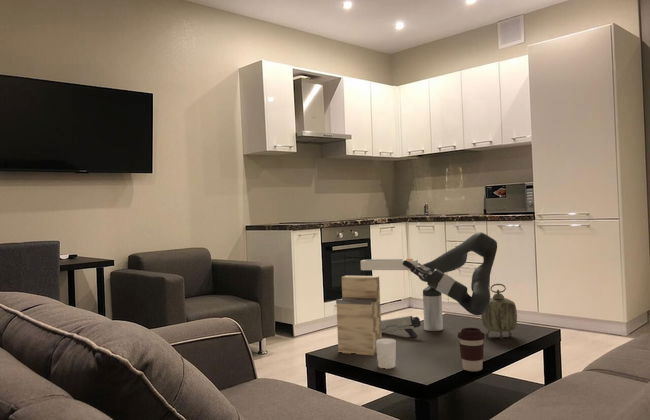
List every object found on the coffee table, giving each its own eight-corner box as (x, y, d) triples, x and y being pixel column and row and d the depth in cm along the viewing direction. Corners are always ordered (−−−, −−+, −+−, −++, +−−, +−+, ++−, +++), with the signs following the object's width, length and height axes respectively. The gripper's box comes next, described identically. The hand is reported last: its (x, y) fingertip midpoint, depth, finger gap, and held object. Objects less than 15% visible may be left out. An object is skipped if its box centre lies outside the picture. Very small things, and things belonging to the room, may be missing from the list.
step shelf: (348, 345, 242) (345, 275, 242) (381, 348, 236) (379, 276, 235) (338, 352, 231) (335, 279, 231) (372, 355, 224) (370, 280, 224)
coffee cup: (456, 365, 206) (455, 326, 206) (482, 364, 206) (480, 326, 206) (462, 373, 196) (460, 332, 196) (489, 372, 196) (487, 332, 196)
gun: (422, 336, 249) (417, 315, 250) (377, 342, 264) (373, 322, 265) (424, 335, 251) (419, 314, 252) (380, 341, 266) (375, 321, 267)
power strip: (363, 269, 232) (363, 258, 232) (418, 269, 222) (417, 258, 222) (360, 270, 228) (360, 259, 228) (415, 270, 218) (415, 259, 218)
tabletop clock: (512, 334, 250) (510, 282, 250) (519, 339, 241) (517, 284, 241) (481, 335, 251) (479, 283, 250) (487, 340, 241) (485, 285, 241)
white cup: (373, 365, 211) (372, 340, 211) (390, 362, 214) (389, 337, 214) (382, 370, 204) (381, 344, 203) (400, 367, 207) (399, 341, 207)
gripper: (449, 272, 222) (413, 252, 228) (442, 276, 209) (404, 255, 215) (440, 287, 223) (405, 267, 229) (433, 293, 210) (396, 271, 216)
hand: (405, 261), depth 222 cm, fingers closed on power strip, 4 cm apart
